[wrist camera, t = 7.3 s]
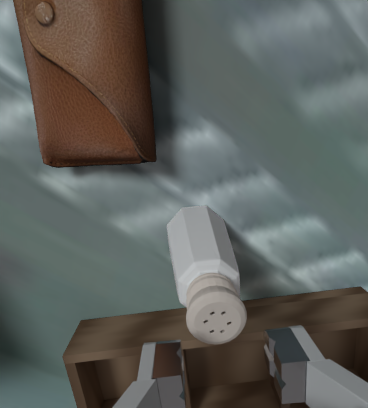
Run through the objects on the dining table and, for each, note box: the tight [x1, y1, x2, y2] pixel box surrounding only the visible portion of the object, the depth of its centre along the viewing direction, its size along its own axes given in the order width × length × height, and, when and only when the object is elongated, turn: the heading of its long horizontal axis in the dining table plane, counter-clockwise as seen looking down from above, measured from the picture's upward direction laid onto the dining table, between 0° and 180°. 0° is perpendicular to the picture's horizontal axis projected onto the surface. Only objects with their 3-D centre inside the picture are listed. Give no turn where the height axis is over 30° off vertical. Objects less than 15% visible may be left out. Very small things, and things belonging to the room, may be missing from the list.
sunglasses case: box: [13, 0, 157, 168], centre depth 16 cm, size 18×7×7 cm
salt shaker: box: [167, 205, 247, 345], centre depth 16 cm, size 5×5×11 cm
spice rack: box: [63, 287, 368, 408], centre depth 23 cm, size 27×10×4 cm, turn 96°
